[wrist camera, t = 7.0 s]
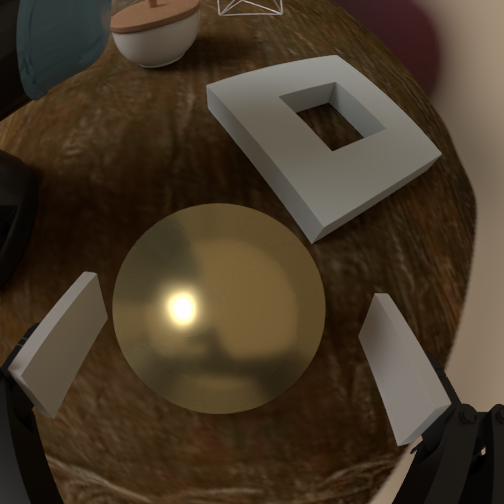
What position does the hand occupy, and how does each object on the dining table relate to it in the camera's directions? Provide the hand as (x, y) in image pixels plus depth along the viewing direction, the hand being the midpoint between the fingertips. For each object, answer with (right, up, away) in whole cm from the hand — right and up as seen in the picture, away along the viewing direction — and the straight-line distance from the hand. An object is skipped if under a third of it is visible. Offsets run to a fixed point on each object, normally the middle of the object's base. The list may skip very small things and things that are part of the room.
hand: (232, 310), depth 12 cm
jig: (+8, +14, +11) cm, 19 cm away
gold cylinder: (-1, -2, +5) cm, 6 cm away
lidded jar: (-11, +28, +15) cm, 33 cm away
